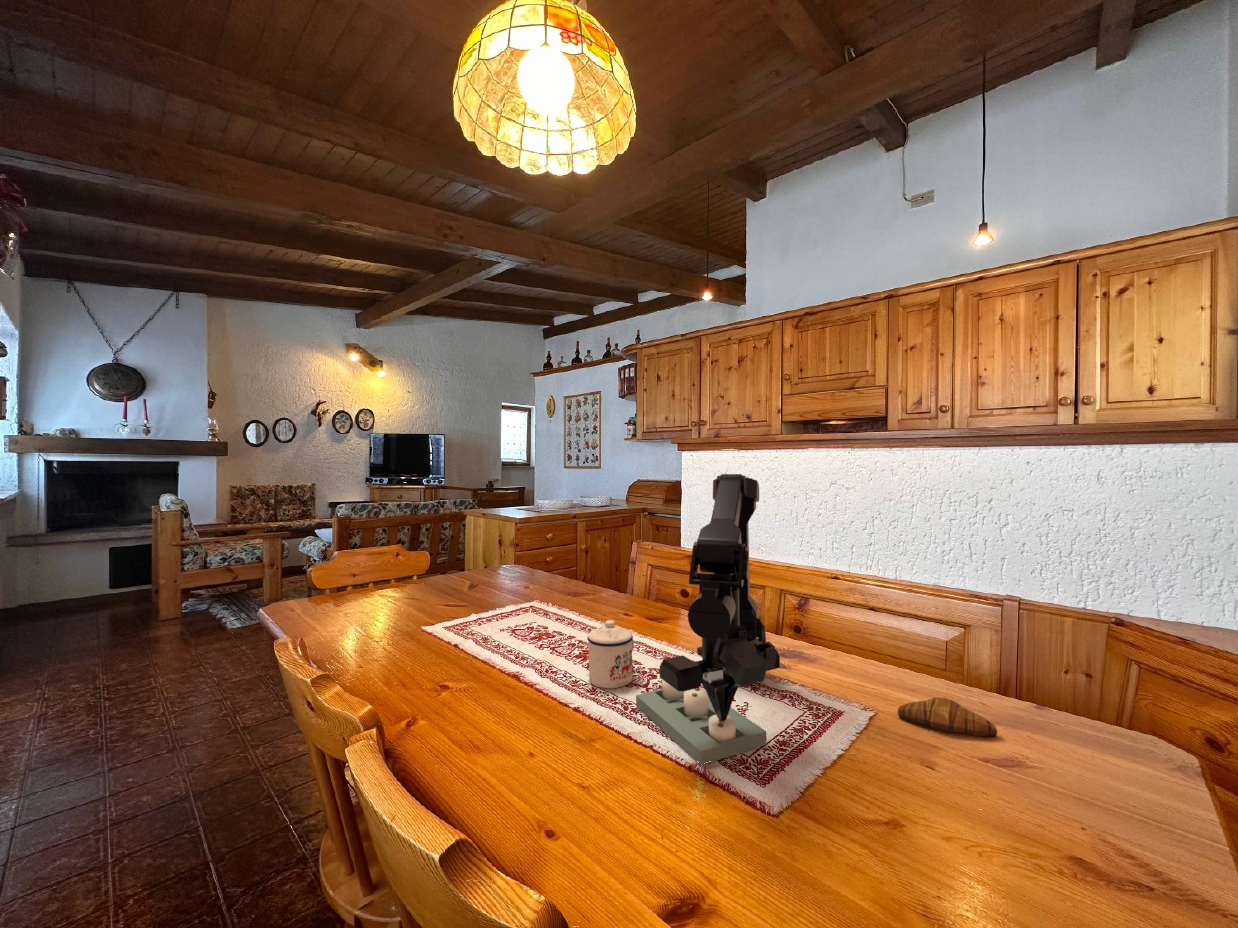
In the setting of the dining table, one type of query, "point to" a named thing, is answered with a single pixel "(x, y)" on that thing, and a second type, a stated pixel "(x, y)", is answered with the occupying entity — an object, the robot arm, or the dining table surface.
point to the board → (698, 728)
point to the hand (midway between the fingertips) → (721, 719)
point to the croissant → (947, 718)
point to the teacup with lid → (610, 656)
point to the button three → (722, 729)
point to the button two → (696, 703)
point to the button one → (671, 692)
